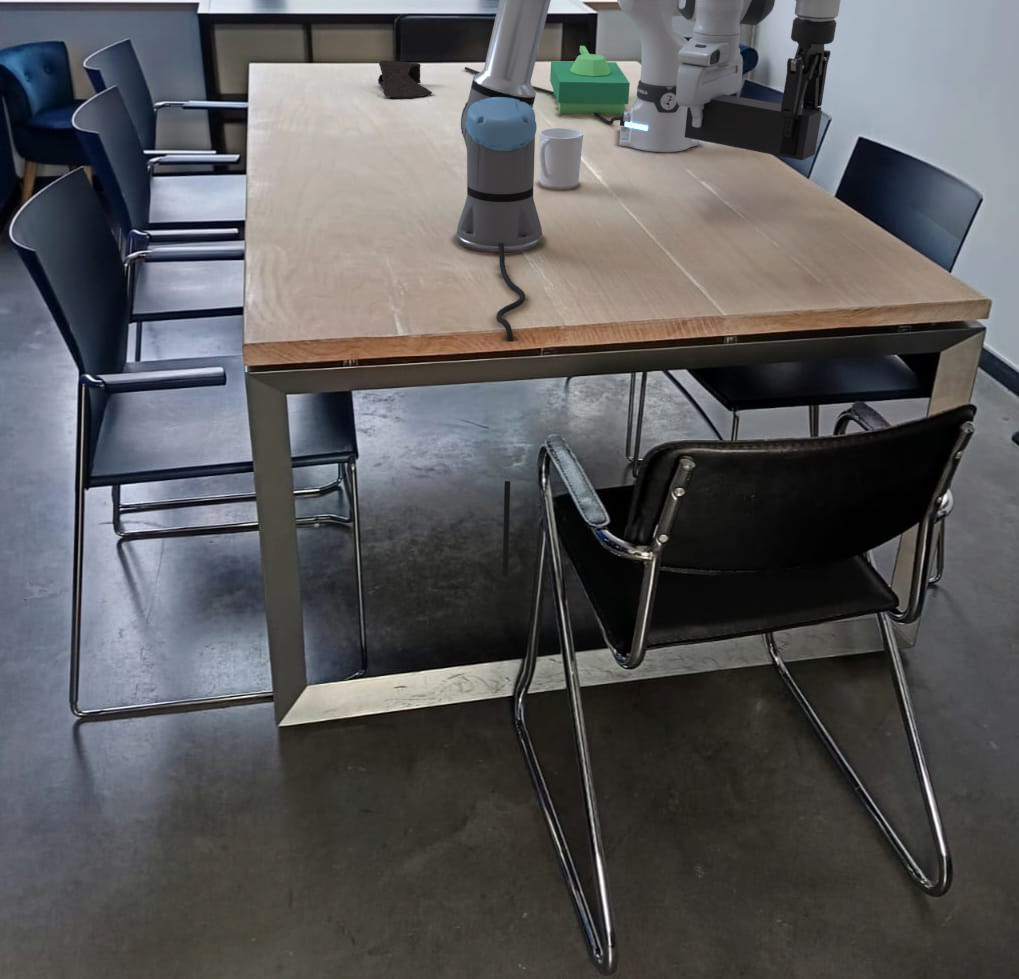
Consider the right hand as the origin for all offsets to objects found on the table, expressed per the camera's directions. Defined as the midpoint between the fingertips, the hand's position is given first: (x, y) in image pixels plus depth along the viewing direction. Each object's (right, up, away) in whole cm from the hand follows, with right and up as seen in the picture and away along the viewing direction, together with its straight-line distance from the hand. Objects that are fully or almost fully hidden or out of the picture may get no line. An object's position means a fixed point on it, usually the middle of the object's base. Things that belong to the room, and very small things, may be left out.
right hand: (706, 123), depth 214 cm
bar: (+8, -5, -3) cm, 10 cm away
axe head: (-68, +38, +86) cm, 116 cm away
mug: (-29, -9, +11) cm, 33 cm away
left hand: (+15, -8, -9) cm, 19 cm away
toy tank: (-18, +32, +78) cm, 86 cm away
